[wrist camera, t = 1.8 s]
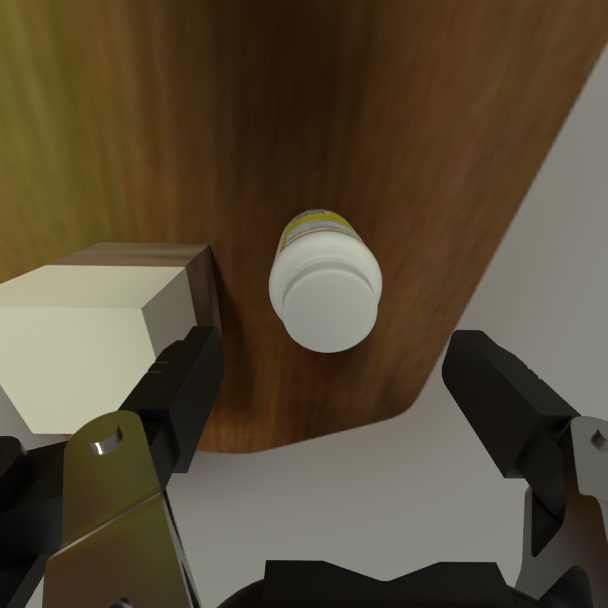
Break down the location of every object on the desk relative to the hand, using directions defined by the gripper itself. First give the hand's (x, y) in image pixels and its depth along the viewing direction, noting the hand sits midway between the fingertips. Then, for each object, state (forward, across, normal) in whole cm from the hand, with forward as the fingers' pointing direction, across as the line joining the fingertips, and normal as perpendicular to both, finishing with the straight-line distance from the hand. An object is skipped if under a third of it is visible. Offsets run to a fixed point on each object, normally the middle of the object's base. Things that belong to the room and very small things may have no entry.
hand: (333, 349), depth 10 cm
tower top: (+7, +12, +4) cm, 15 cm away
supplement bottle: (+12, 0, 0) cm, 12 cm away
